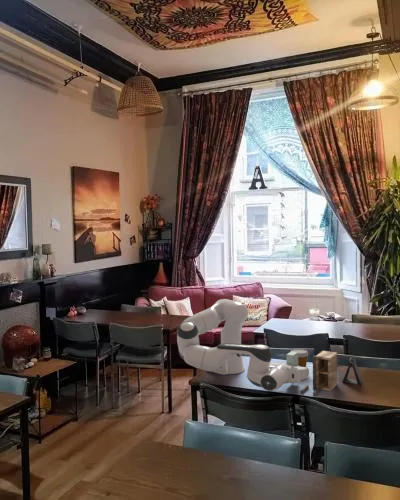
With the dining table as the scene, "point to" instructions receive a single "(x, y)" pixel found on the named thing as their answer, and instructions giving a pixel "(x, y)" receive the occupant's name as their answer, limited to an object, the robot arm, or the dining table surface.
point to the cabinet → (324, 372)
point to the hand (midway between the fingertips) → (293, 365)
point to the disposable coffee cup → (301, 357)
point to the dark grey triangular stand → (357, 375)
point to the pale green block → (292, 358)
